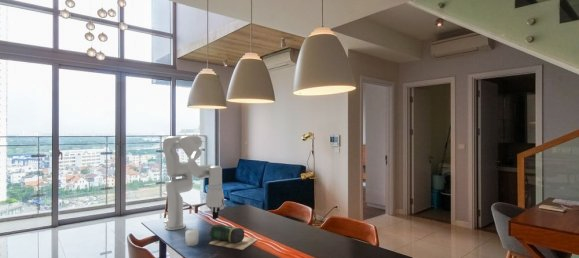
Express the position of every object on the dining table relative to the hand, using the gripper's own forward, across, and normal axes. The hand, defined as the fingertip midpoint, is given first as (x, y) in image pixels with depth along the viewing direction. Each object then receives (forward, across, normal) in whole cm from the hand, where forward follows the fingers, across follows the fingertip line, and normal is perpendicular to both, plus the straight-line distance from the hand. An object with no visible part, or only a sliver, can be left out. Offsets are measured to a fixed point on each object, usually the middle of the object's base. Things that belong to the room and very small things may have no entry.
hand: (215, 218), depth 180 cm
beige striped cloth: (+12, +12, 0) cm, 17 cm away
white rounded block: (+12, -8, -11) cm, 18 cm away
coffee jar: (+8, 0, 0) cm, 8 cm away
